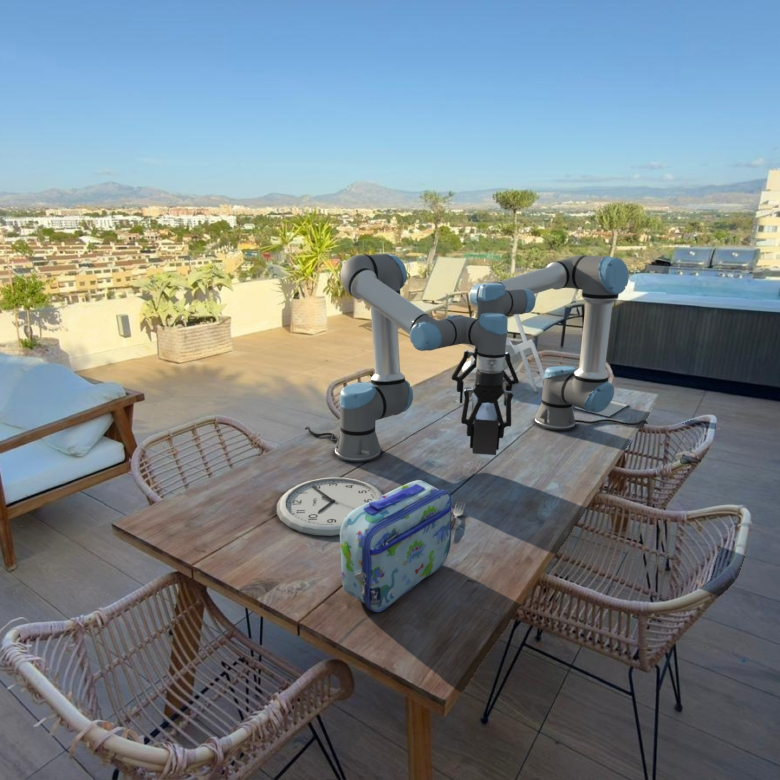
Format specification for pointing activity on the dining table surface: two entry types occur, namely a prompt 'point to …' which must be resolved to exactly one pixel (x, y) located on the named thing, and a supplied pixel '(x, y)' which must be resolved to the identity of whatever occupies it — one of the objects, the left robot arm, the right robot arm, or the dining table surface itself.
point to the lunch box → (394, 543)
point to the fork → (457, 514)
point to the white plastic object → (516, 355)
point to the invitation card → (609, 408)
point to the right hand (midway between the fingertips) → (482, 403)
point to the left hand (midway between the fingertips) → (483, 447)
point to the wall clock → (323, 504)
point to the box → (485, 429)
